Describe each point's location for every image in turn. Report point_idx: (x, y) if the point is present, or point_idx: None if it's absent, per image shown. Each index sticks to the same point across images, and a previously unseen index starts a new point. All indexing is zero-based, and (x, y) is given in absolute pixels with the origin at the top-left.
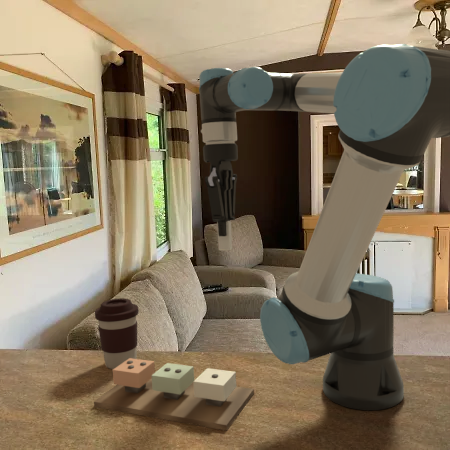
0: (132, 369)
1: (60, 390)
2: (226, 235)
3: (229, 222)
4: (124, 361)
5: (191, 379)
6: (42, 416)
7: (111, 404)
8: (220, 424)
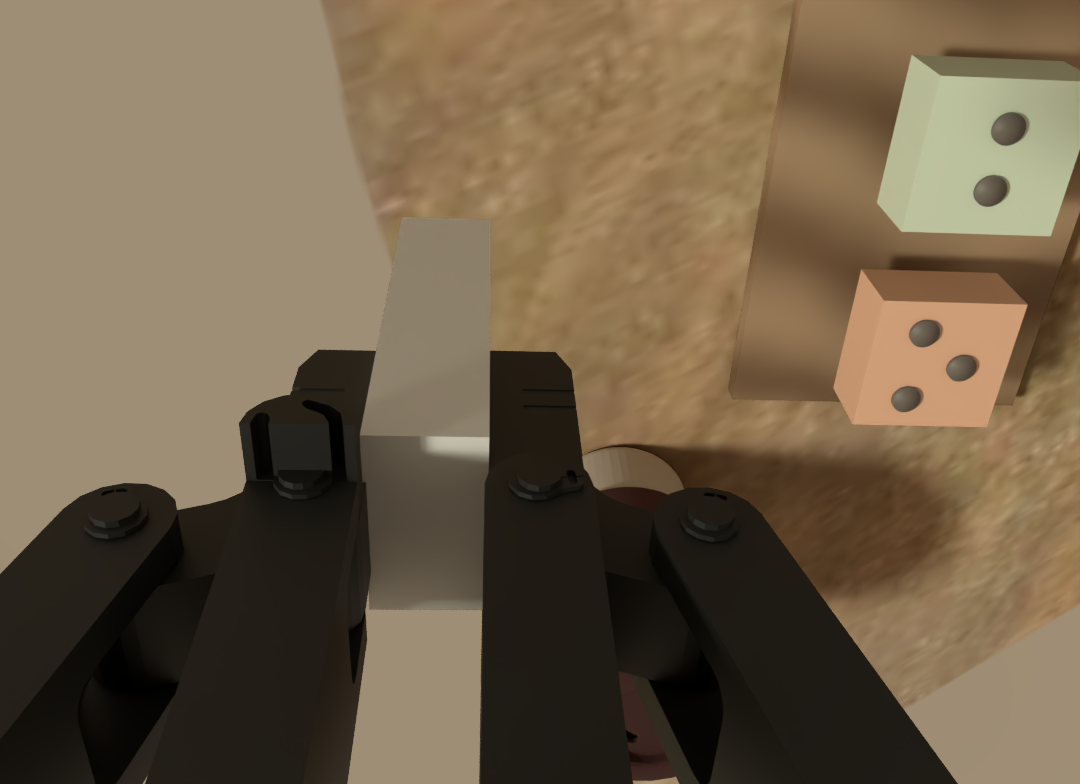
0: (982, 350)
1: (881, 568)
2: (490, 351)
3: (436, 424)
4: (672, 478)
5: (950, 61)
6: (1073, 510)
7: (1035, 332)
8: None
